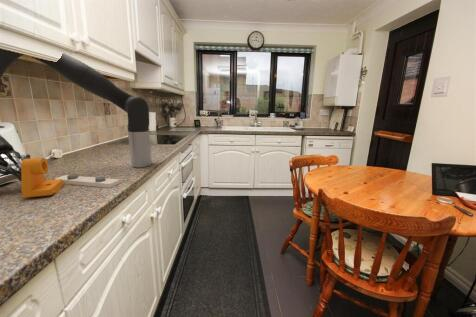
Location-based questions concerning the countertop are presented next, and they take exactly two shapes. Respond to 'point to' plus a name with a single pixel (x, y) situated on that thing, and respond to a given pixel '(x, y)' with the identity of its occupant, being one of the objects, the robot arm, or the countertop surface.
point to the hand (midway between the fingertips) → (27, 180)
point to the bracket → (37, 178)
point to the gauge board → (89, 181)
